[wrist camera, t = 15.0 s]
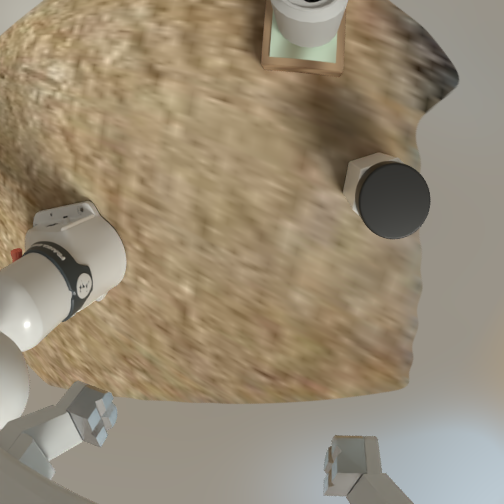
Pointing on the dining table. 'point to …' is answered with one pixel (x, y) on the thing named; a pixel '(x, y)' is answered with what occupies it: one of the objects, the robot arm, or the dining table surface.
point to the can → (308, 20)
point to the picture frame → (301, 51)
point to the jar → (387, 195)
